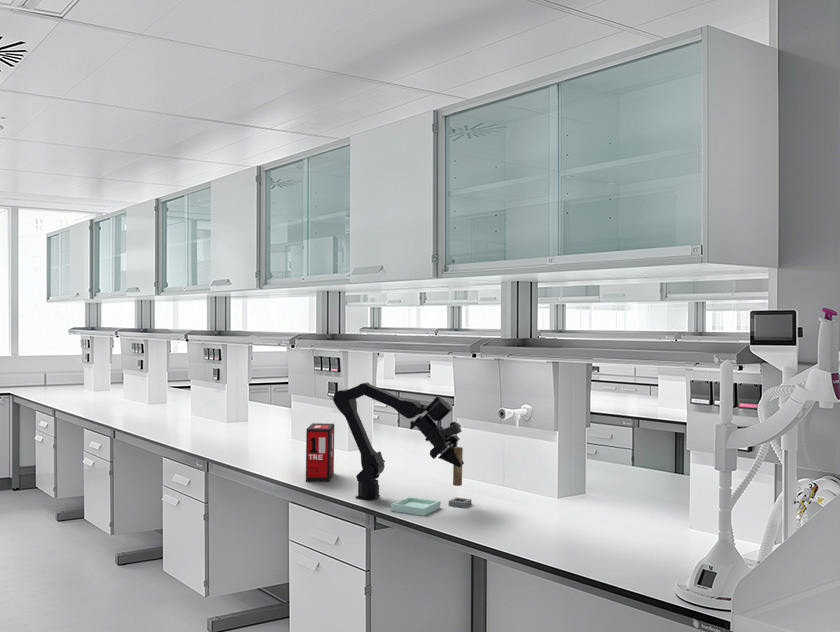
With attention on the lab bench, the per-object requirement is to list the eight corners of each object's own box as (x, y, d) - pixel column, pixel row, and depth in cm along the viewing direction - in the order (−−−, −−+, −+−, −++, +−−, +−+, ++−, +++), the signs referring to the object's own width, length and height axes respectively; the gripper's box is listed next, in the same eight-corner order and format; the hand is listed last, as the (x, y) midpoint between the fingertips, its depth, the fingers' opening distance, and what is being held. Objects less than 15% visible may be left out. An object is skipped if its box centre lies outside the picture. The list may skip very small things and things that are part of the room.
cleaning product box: (311, 473, 310) (312, 423, 310) (333, 473, 310) (334, 423, 310) (305, 481, 293) (306, 429, 293) (329, 482, 293) (329, 429, 293)
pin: (451, 485, 258) (452, 447, 258) (455, 483, 261) (456, 446, 261) (459, 486, 257) (460, 448, 257) (463, 484, 259) (464, 447, 259)
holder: (448, 505, 258) (448, 500, 258) (455, 502, 263) (455, 497, 264) (464, 507, 256) (464, 502, 256) (471, 504, 261) (471, 499, 261)
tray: (390, 510, 250) (391, 504, 250) (408, 503, 261) (408, 496, 261) (423, 515, 245) (423, 508, 245) (440, 507, 255) (440, 501, 255)
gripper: (439, 417, 251) (472, 454, 248) (454, 411, 269) (484, 445, 266) (416, 440, 253) (448, 476, 250) (432, 432, 271) (462, 466, 268)
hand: (461, 465), depth 258 cm, fingers closed on pin, 3 cm apart
